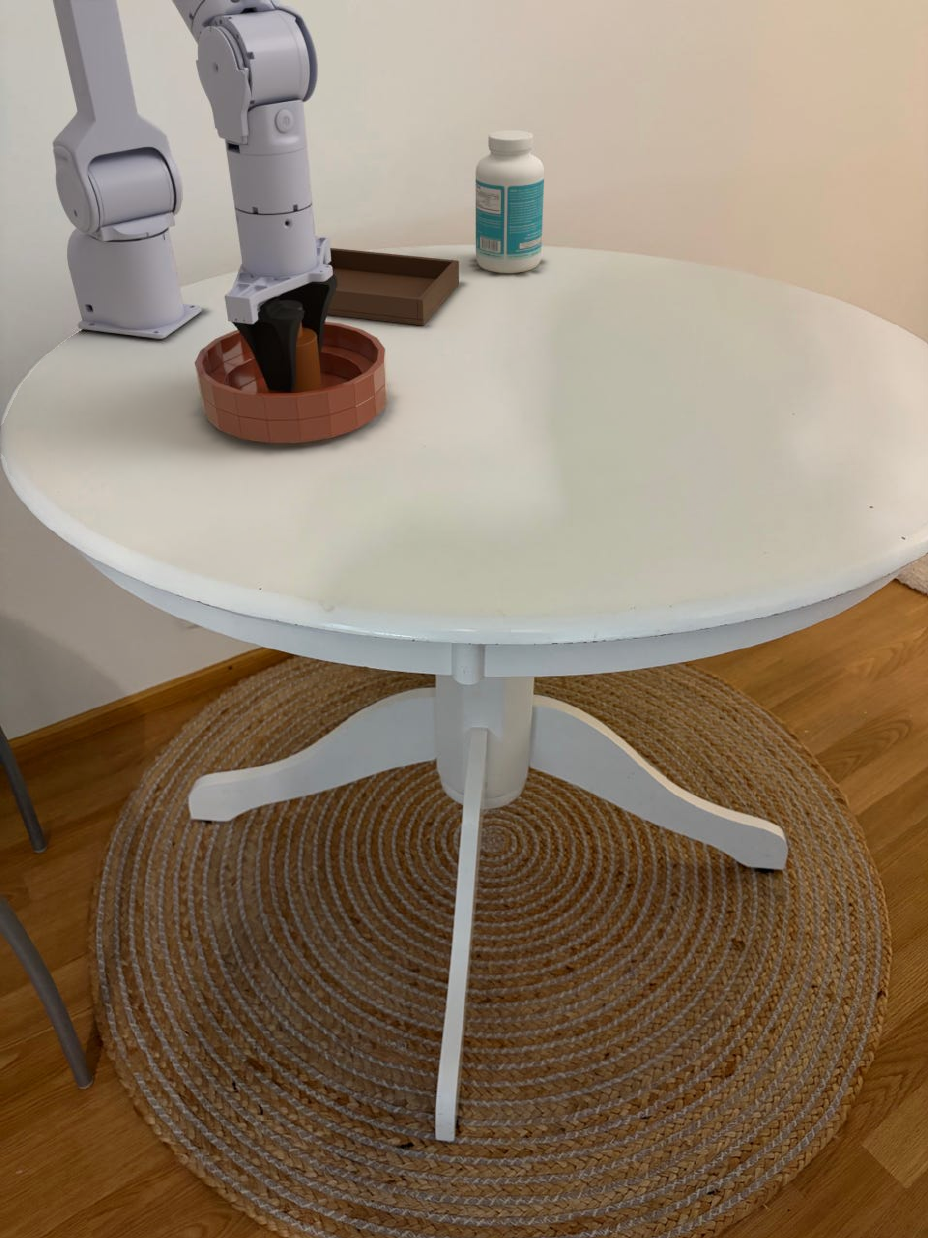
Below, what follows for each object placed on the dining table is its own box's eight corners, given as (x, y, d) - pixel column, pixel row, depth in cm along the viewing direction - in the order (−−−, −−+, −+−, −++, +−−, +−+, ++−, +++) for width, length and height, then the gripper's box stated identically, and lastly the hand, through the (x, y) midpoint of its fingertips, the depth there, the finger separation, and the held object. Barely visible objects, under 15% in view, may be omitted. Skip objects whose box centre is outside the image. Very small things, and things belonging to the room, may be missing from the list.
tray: (282, 309, 98) (279, 283, 96) (329, 270, 107) (327, 247, 105) (423, 325, 94) (422, 299, 93) (459, 284, 103) (459, 260, 102)
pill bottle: (541, 255, 111) (548, 127, 103) (539, 276, 105) (545, 143, 97) (477, 252, 112) (479, 125, 103) (472, 274, 106) (472, 141, 98)
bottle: (260, 407, 79) (247, 312, 74) (283, 385, 82) (272, 293, 77) (310, 414, 78) (299, 318, 73) (330, 391, 81) (322, 298, 76)
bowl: (170, 434, 76) (159, 382, 74) (255, 360, 88) (248, 312, 85) (347, 461, 73) (342, 407, 70) (411, 380, 84) (410, 331, 82)
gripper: (280, 237, 64) (302, 422, 72) (360, 182, 75) (370, 348, 83) (186, 228, 65) (218, 410, 74) (278, 176, 76) (296, 339, 85)
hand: (293, 377), depth 79 cm, fingers closed on bottle, 4 cm apart
